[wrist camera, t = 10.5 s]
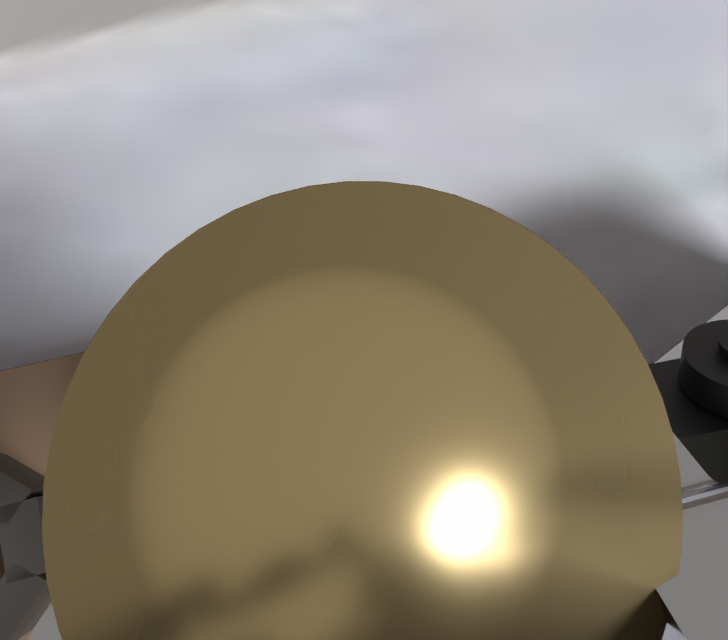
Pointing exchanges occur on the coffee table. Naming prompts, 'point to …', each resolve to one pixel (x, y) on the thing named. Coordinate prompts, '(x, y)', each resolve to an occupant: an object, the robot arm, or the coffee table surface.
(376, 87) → the coffee table surface
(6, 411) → the board
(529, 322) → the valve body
